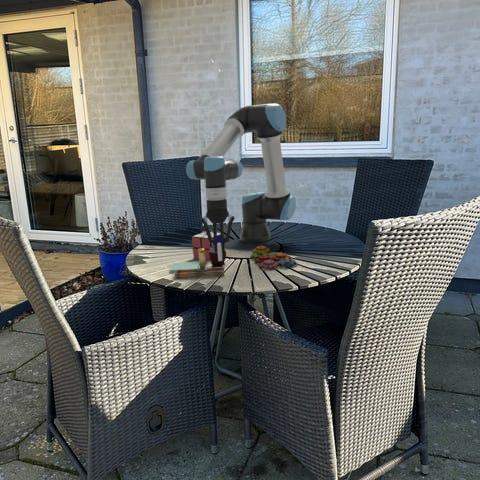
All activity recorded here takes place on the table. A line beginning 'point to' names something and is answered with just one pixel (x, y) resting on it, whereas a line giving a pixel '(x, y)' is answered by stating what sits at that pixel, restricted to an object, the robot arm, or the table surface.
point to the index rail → (199, 273)
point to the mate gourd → (216, 257)
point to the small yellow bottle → (202, 261)
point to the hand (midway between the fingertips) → (220, 260)
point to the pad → (184, 266)
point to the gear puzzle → (271, 259)
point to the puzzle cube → (203, 244)
